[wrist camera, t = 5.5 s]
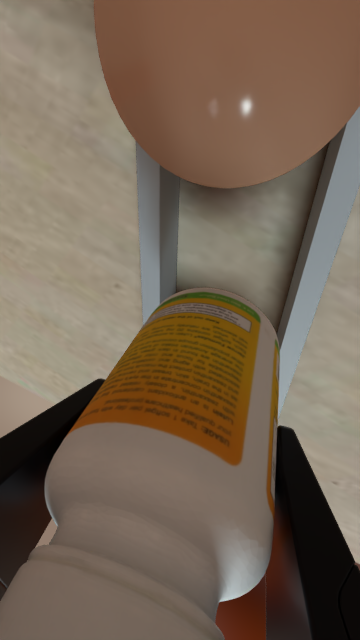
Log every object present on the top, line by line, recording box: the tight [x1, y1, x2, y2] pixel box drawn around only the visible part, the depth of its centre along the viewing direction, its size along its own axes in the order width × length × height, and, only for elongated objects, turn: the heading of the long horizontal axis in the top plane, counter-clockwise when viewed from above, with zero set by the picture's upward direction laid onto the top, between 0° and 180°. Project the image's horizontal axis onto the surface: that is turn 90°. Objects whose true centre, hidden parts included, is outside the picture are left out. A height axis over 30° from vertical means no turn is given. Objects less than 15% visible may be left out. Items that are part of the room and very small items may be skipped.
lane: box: [136, 106, 360, 418], centre depth 15 cm, size 26×8×5 cm, turn 178°
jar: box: [94, 0, 360, 188], centre depth 9 cm, size 5×5×9 cm
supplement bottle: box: [0, 287, 280, 640], centre depth 9 cm, size 5×5×10 cm
